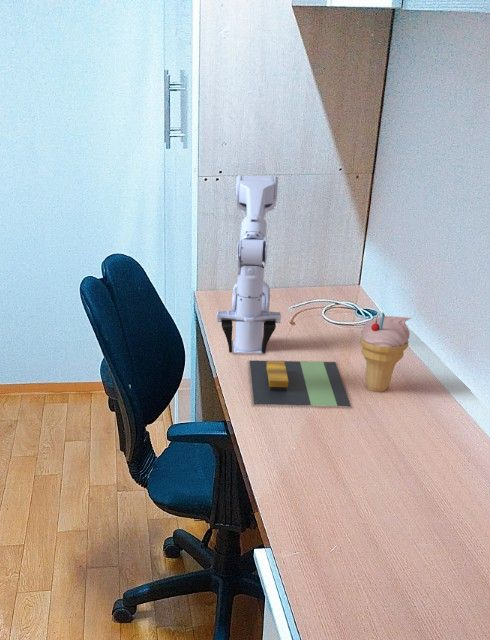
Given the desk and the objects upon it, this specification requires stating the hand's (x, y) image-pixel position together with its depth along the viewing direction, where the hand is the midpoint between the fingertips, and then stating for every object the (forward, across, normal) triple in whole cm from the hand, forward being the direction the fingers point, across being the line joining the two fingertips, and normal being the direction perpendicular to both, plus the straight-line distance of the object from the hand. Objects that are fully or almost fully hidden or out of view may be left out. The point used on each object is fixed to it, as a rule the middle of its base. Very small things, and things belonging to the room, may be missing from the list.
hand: (246, 351), depth 171 cm
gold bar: (+9, +8, +3) cm, 12 cm away
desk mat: (+9, +13, +3) cm, 16 cm away
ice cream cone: (+9, +32, +1) cm, 33 cm away
